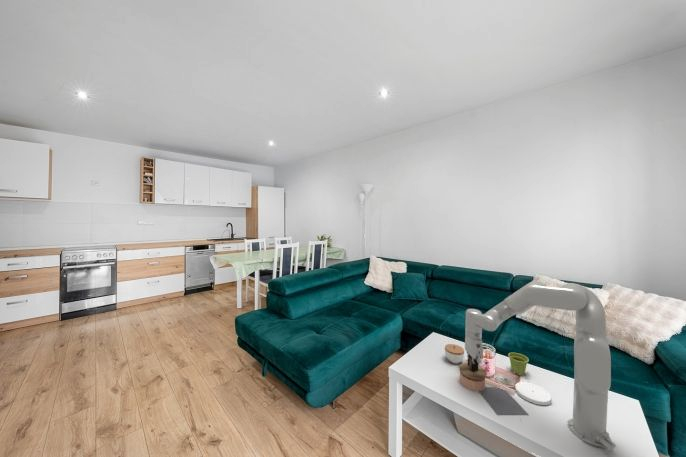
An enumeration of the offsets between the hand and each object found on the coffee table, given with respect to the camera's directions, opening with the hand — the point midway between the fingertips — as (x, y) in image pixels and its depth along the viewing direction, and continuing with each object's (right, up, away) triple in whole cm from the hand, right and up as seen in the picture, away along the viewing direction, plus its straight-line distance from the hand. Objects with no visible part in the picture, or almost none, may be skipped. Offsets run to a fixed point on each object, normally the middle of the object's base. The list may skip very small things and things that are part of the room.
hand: (472, 368), depth 129 cm
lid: (0, -2, 0) cm, 2 cm away
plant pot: (+31, -8, +10) cm, 34 cm away
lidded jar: (0, -8, +21) cm, 23 cm away
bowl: (0, -9, 0) cm, 9 cm away
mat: (+7, -9, -12) cm, 16 cm away
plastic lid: (+25, -9, -8) cm, 28 cm away
